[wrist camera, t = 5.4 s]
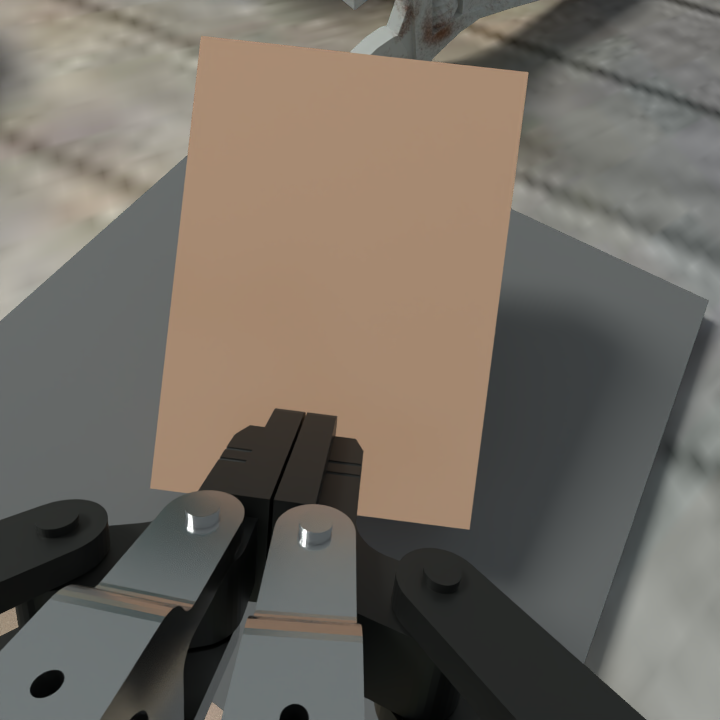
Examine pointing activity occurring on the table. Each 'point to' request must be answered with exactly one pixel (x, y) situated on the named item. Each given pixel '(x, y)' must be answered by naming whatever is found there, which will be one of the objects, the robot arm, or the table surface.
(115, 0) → the table surface
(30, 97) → the table surface
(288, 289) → the tan rectangular block
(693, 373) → the table surface
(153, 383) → the mat
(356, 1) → the wrench
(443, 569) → the robot arm
